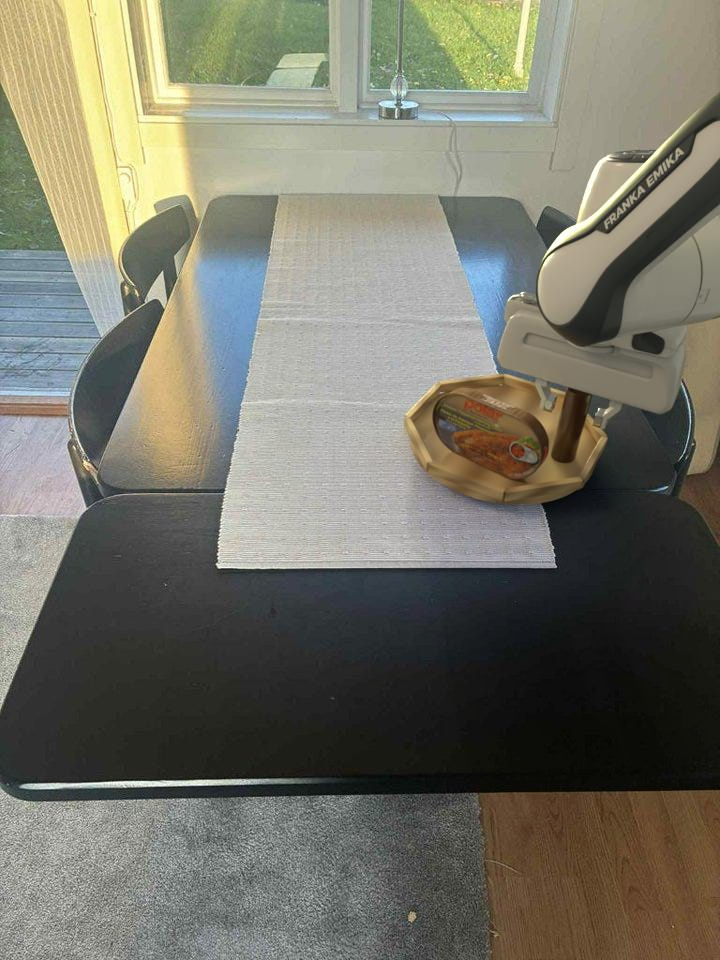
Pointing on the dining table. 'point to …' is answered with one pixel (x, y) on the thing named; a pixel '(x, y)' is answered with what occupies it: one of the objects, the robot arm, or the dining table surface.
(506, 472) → the tin
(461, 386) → the tray
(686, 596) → the dining table surface
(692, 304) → the robot arm
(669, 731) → the dining table surface
